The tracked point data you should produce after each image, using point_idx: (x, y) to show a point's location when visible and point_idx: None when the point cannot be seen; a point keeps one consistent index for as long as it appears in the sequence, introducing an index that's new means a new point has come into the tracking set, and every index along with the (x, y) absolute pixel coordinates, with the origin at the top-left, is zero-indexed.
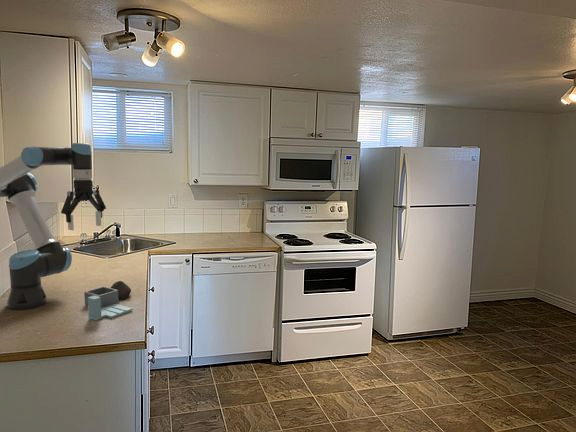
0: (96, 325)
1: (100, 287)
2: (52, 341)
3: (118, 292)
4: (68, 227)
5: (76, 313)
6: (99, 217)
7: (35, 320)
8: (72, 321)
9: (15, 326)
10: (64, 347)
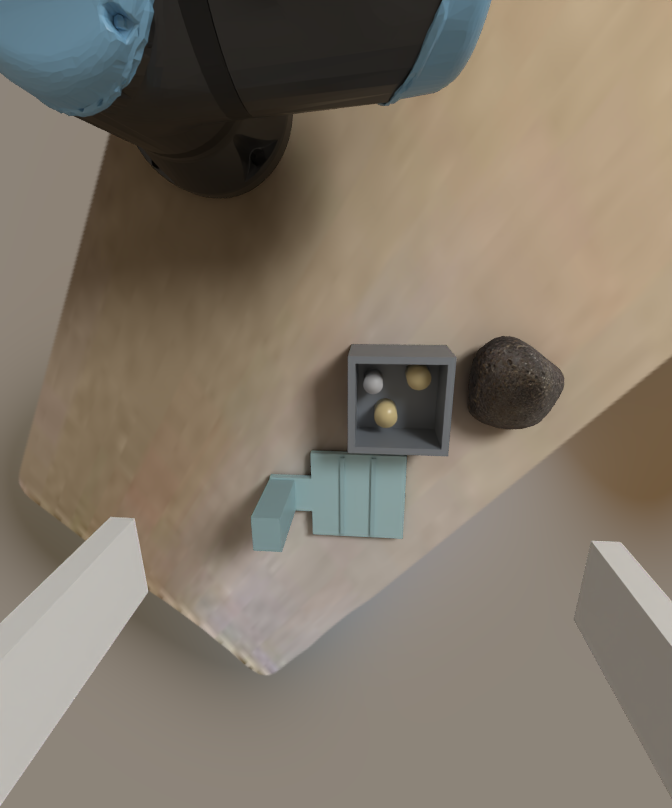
0: None
1: (435, 360)
2: None
3: (480, 409)
4: (90, 545)
5: (278, 396)
6: (659, 768)
7: (154, 338)
8: (229, 448)
9: (89, 334)
10: None
